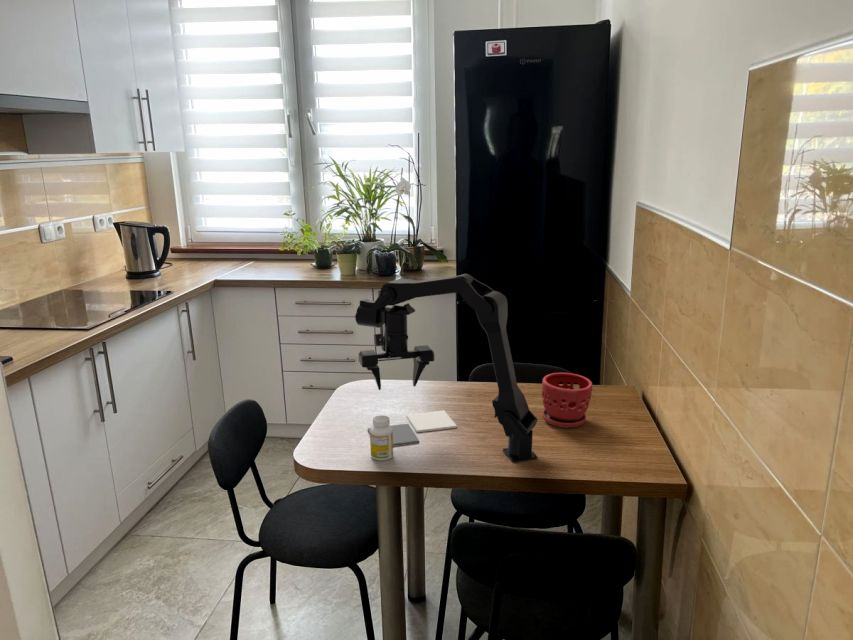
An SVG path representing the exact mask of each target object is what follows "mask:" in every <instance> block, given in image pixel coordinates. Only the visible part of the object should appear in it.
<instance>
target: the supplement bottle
mask: <svg viewBox="0 0 853 640" xmlns="http://www.w3.org/2000/svg"><path fill="white" fill-rule="evenodd" d="M390 421H391V420H390V417H389V416H387V415H376V416H374V417H373V418H372V425H371V427H370V428H371V429H370V434H369V436H370V437H369V438H370V440H369V441H370V443H369V444H370V457H371V458H372V459H373V460H375V461H387V460H388V461H389V460H390V459H392V457H393V456H394V446H393V429H392V427H391V426H392V425H390V424H391V422H390Z"/></svg>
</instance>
